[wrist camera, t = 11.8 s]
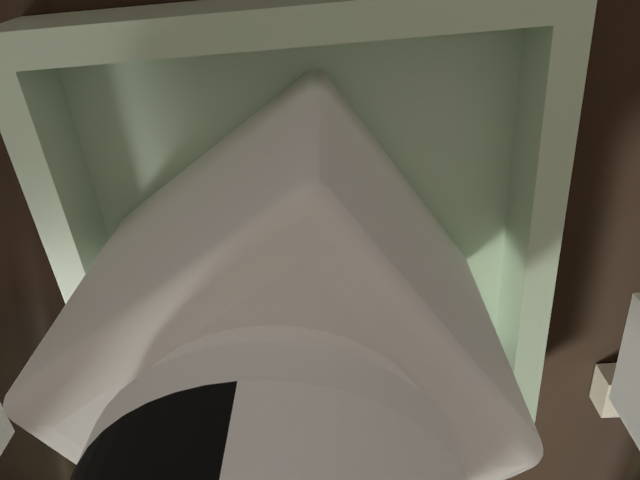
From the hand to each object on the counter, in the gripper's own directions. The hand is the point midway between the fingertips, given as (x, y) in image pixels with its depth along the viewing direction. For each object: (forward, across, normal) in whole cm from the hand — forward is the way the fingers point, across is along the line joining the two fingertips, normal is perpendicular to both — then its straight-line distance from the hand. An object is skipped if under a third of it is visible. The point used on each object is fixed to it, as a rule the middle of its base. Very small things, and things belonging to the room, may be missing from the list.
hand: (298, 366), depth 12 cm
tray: (+6, 0, 0) cm, 6 cm away
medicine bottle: (+5, 0, 0) cm, 5 cm away
